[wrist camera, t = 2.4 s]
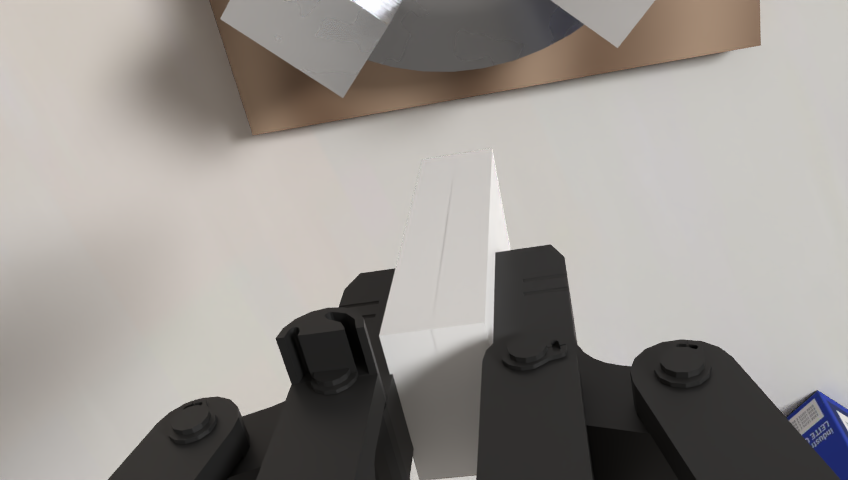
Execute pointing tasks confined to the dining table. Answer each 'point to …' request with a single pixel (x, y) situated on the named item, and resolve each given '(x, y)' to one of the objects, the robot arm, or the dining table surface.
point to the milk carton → (824, 430)
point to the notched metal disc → (420, 31)
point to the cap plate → (402, 88)
